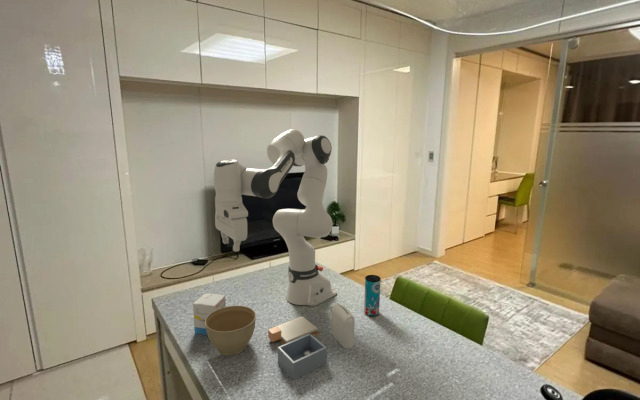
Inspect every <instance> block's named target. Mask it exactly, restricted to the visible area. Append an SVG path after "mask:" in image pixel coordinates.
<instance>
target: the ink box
mask: <svg viewBox="0 0 640 400" xmlns="http://www.w3.org/2000/svg"><path fill="white" fill-rule="evenodd" d="M226 301H227V299H226V295H225V294H217V293H211V292H210V293H209V292H208V293H203V294H202V295H201V296H200V297H198V299H197V300H196V301H194V302H193V303H192V308H193V311H192V312H193V313H192V314H193V325H194V326H193V327H194V329H193V330H194V334H199V335H206V336H208V335H207V330H206V326H205V320H206V318H207V316H208V315H209V314H210V313H212V312H214V311H215V310H218V309H220V308H223V307H227V305H226V304H227V303H226Z"/></svg>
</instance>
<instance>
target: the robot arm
mask: <svg viewBox="0 0 640 400" xmlns="http://www.w3.org/2000/svg"><path fill="white" fill-rule="evenodd" d="M266 153H267V158H268V159H269V160H270V163H272V166H271V167H269V168H251V167H246V166H244V165H242V164H241V163H239V161H238V160H236V159H231V158H230V159H224V160H220V161H218V162H217V163H216V164H215V165H214V171H213V188H214V191H215V197H214V206H215V213H214V214H215V215H214V226H215V229H216V230H218V231H220V235H221V239H222V243H223V244H224V245H226V244H227V245H228V244H229V243H230V239H229V238H231V239H232V241H233V245H232V251H233V252H235V253H236V252H239V251H240V250H241V249H240V246H241V243H242V242H244V241H246V240H247V239H248V219H247V217H249V211H248V210H247V208H246V206H245V205H244V203H243V197H242V196H243V195H244V196H250V197H251V196H252V197H258V198H262V199H265V200H266V199H267V200H268V199H271V198H272V197H274V196H275V195H276V194H277V192H278V191H279V189H280V186H281V183H282V182H283V181H284V180H285V178H286V177H287V176H288V174H289V172H290V170H291V169H292V168H293V167H302V166H304V173H303V175H302V178H301V181H300V184H299V188H298V190H297V195H296V196H297V199H298V201H299V202H300V203H301V204H302V205H304V207H305V208H303V209H302V208H301V209H300V208H281V209H280V208H279V209H278V210H276V212H275V213H274V215H273V217H272V226H273V228H274V230H275V231H276V232H277V233H279V235H280V236H281V237H282V238H283V240H284V241H285V244H286V247H287V249H288V259H289V260H288V261H289V265H288V270H287V271H288V272H287V274H288V286H287V290H286V291H287V292H286V296H285V299H286V300H287V302H289V303H291V304H294V305H298V306H310V307H316V306H318V305H320V304H321V303H323V302H325V301H327V300H328V299H330V298H332V297H334V296H336V295H337V290H336V288H334V287H332V284H331V280H330V279H329V278H328V277H327V276H325V275H323V274H322V273H321V272H323V270H324V267H323V266H321V265H318V264H316V249H315V248H314V245H313V244H311V243H310V242H308V241H307V240H306V238H305V237H309V238H326V237H328V236H329V234H330V233H331V231H332V230H333V219H332V217H331V215H330V214H329V213H328V212H327V211H326V209H325V208H324V205H323V199H324V194H325V189H326V185H327V180H328V168H327V166H326V165H325V164H327V163H328V161H329V160H330V156H331V154H332V143H331V142H330V139H329V138H328V137H327V136H326V135H323V134H322V135H315V136H312V137H311V136H310V137H308V138H305V137H304V135H303V134H302V132H301V131H299V130H298V129H295V128H293V129H288V130H286V131H283V132H282V133H280V134H278V136H276V137H274V139H272V140H271V141H270V143H268V145H267V147H266Z"/></svg>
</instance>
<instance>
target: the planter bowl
mask: <svg viewBox="0 0 640 400" xmlns="http://www.w3.org/2000/svg"><path fill="white" fill-rule="evenodd" d="M256 320H257V313H256V311H255V310H254V309H253V308H251V307H249V306H245V305H230V306H226V307H223V308H220V309H218V310H215V311H214V312H212V313H210V314H209V315H208V316H207V318H206V320H205V326H206V330H207V335H206V336H207V337H208V339H209V341H210V342H211V345H213V347H214V348H215V349H216V350H217V351H218V352H217V353H219V354H220V355H222V356H223V355H224V356H233V355H234V356H235V355H238V354H240V353H242V352H243V351H244V350H245V349H247V346H248V344H249V342H250V341H251V339H252V337H253V335H254V332H255V329H256Z"/></svg>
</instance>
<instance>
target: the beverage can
mask: <svg viewBox="0 0 640 400" xmlns="http://www.w3.org/2000/svg"><path fill="white" fill-rule="evenodd" d="M380 296H381V277H380V276H379V275H376V274H368V275H365V278H364V301H363V303H364V305H363V312H364V314H365V315H366V316H368V317H376V316H378V315H380V300H381V299H380Z"/></svg>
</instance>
